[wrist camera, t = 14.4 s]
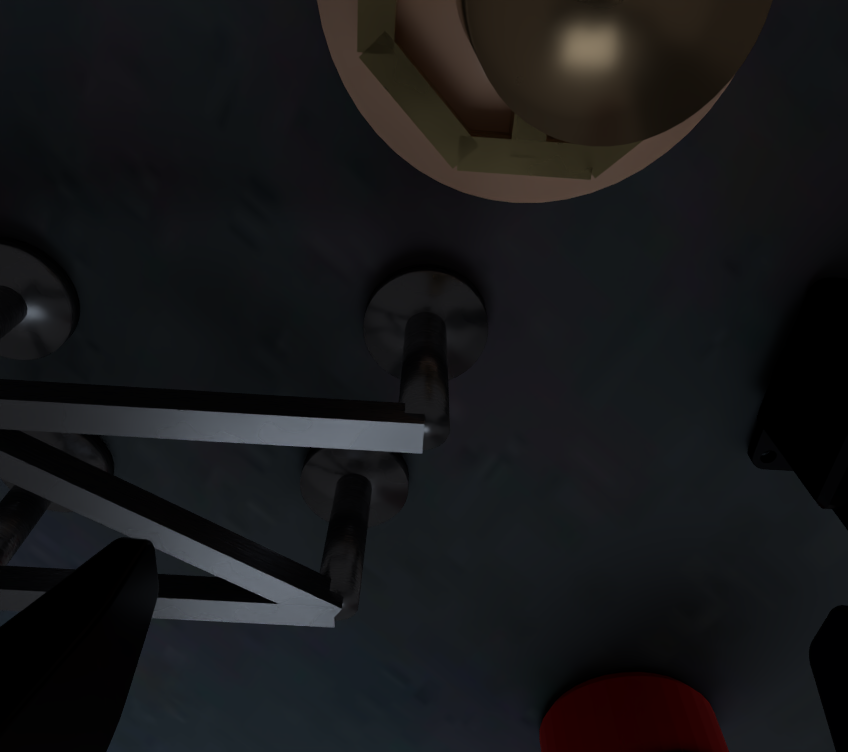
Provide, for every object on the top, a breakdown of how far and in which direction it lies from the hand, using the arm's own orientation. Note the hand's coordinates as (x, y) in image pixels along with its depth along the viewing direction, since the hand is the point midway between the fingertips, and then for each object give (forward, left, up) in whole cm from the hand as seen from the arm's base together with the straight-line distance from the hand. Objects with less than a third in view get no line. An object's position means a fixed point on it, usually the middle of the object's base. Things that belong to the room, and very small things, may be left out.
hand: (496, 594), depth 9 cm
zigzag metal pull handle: (+7, +5, -12) cm, 15 cm away
